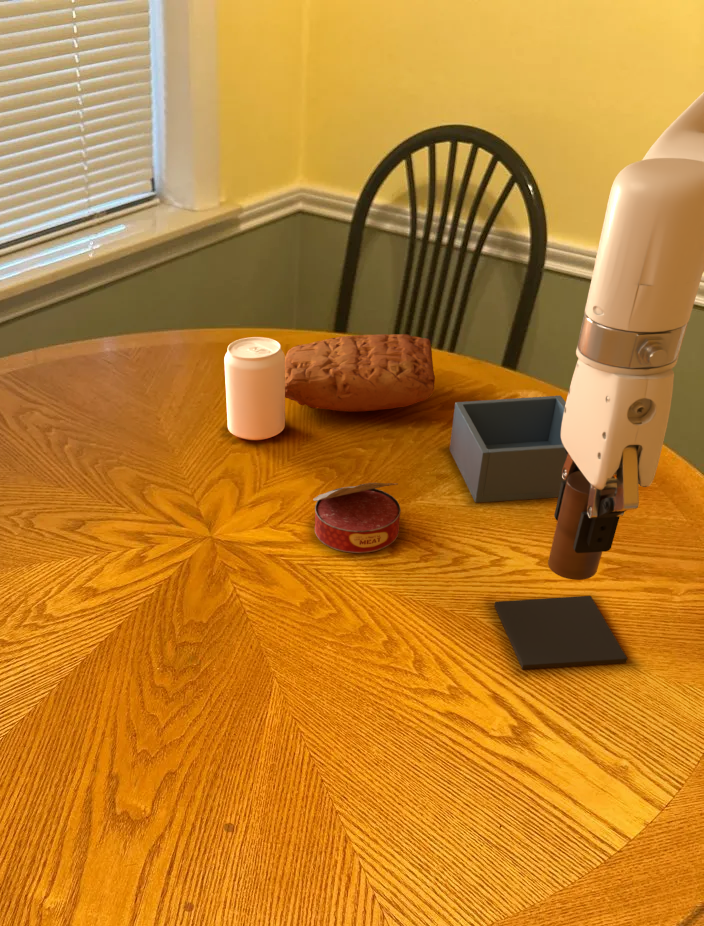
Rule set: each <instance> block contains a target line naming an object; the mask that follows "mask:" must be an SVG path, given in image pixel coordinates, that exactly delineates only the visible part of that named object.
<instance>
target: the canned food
mask: <svg viewBox="0 0 704 926" xmlns="http://www.w3.org/2000/svg"><path fill="white" fill-rule="evenodd" d="M395 485H399V483H390V482H388V483H387V482H385V483H384V482H367V483H361V484H358V485H355V486H353V485H352V486H344V487H339V488H335V489H332V490H329V491H327V492H325V493H321V494H319V495H317V496H316V497H314V498H313V499H312V500H313V502H315V506H314V510H315V511H314V513H315V514H314V518H315V519H314V533H315V536H316V537H317V539H318V540H319V542H320V543H322V544H323V545H324V546H327V547H328V548H330V549H333V550H336V551H338V552H343V553H350V554H366V553H374V552H377V551H380V550H383V549H385V548H387V547H389V546H390V545H392V544H393V543H394V542H395V541H396V539H397V538H398V536H399V533H400V532H399V531H400V530H399V529H400V518H401V512H402V510H401V505H400V503H399V501H398V500H397V499H396V498H395V497H394V496H393V495H392V494H390V493H388V492H385V491H384V490H381V489H380V488H385V487H390V486H395Z"/></svg>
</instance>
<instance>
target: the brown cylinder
mask: <svg viewBox="0 0 704 926" xmlns="http://www.w3.org/2000/svg"><path fill="white" fill-rule="evenodd" d="M615 478H616V477H614V475H613V476H612V478H608V479H615ZM589 491H590V482H589V481H588V480H587V479H586V477H585V476H584V475H583V473H582V472H581V471H576V472H574V473H572V474H570V475H569V476H568V478H567V481H566V486H565V490H564V494H563V499H562V503H561V508H560V512H559V516H558V521H557V520H556V525H555V530H554V535H553V539H552V544H551V548H550V552H549V556H548V561H547V565H548V568H549V570H551V572H553V573H554V574H555V575H557V576H558V577H561V578H564V579H567V580H574V581H581V580H589V579H590V578H593V577H594V576H595V575H596V574H597V573H598V569H599V565H600V561H601V558H602V555H603V552H589V553H576V552H575V550H574V548H573V546H574V542H575V537H576V533H577V529H578V525H579V521H580V517H581V513H582V512H587V506H588V498H589ZM614 494H615V489H610V490H602V492H601V499H600V501H602V500H603V499H605V498H609V497H614Z"/></svg>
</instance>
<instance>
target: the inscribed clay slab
mask: <svg viewBox="0 0 704 926" xmlns="http://www.w3.org/2000/svg"><path fill="white" fill-rule="evenodd" d="M433 361H434V360H433V350H432V344H431V340H430V339H429V338H424V337H423V338H422V337H420V336H416V335H415V336H412V335H410V334H407V333H402V334H401V333H399V334H398V333H397V334H396V333H395V334H394V333H393V334H388V333H387V334H385V333H383V334H381V333H379V334H363V335H362V334H359V335H346V336H337V337H331V338H327V339H323V340H317V341H313V342H309V343H304V344H301V345H300V344H298V345H295V346H293V347H291V348H290V349H288V350H287V352H286V355H285V399H289V400H291V401H295V402H296V403H297V404H299V405H301V406H307V407H308V408H311V409H321V410H331V411H339V412H369V411H378V410H389V409H395V408H396V409H397V408H404V407H408V406H411V405H414V404H416V403H419V402H423V401H425V400H427V399H429V398H430V397H431V396H432V395H433V392H434V390H435V385H436V384H435V383H436V376H435V372H434V362H433Z"/></svg>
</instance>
